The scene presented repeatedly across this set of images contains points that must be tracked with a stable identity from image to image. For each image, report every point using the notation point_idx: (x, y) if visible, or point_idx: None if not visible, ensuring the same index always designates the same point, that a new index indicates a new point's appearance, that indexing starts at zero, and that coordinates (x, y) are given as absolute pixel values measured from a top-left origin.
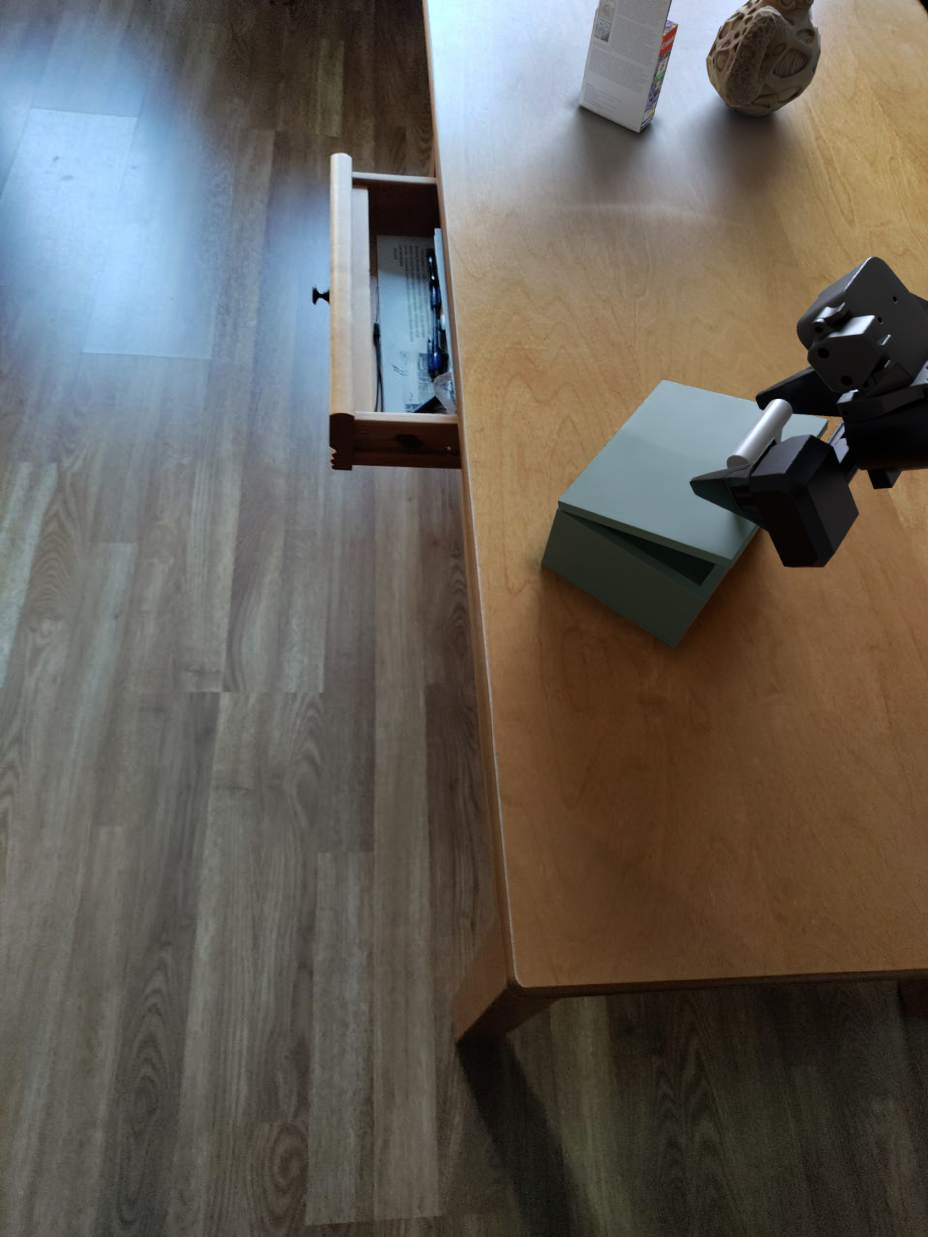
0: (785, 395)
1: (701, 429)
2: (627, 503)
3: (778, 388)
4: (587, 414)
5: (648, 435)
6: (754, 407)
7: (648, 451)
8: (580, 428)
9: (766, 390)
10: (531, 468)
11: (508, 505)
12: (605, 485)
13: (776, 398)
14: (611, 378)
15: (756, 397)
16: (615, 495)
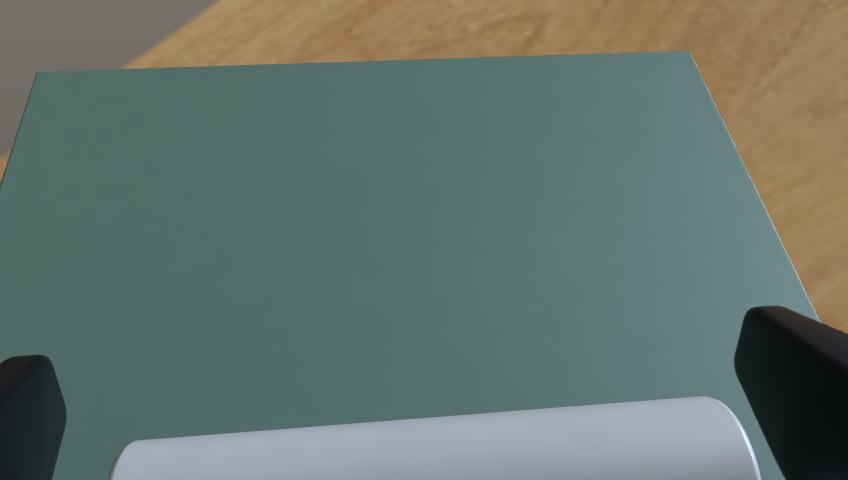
0: (843, 434)
1: (560, 241)
2: (84, 229)
3: (840, 376)
4: (583, 43)
5: (437, 129)
6: None
7: (365, 163)
8: (537, 54)
9: (803, 329)
10: (361, 39)
11: (237, 60)
12: (151, 139)
13: (803, 401)
14: (711, 25)
15: (749, 314)
16: (113, 182)
